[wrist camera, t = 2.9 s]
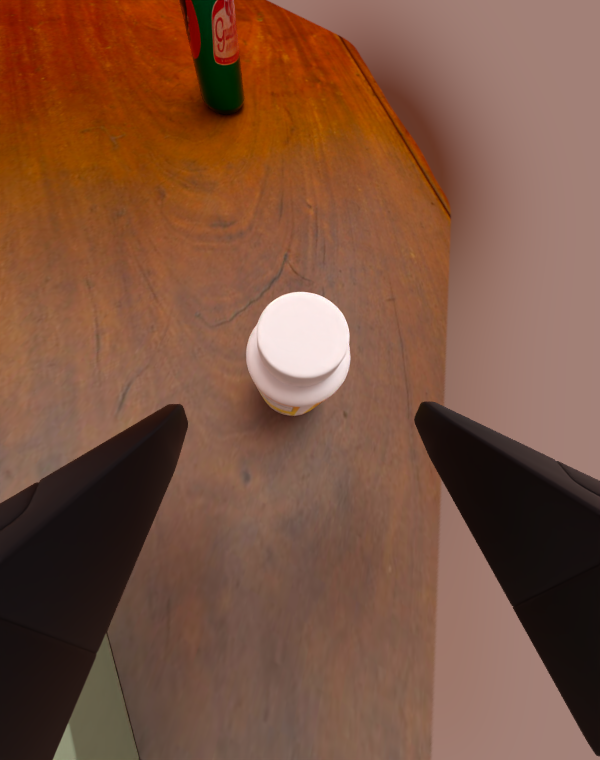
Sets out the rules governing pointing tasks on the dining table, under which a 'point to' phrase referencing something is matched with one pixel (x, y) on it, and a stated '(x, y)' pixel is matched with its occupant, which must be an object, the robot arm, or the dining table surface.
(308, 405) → the supplement bottle
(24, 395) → the dining table surface
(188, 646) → the dining table surface
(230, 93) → the soda can
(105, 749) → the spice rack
